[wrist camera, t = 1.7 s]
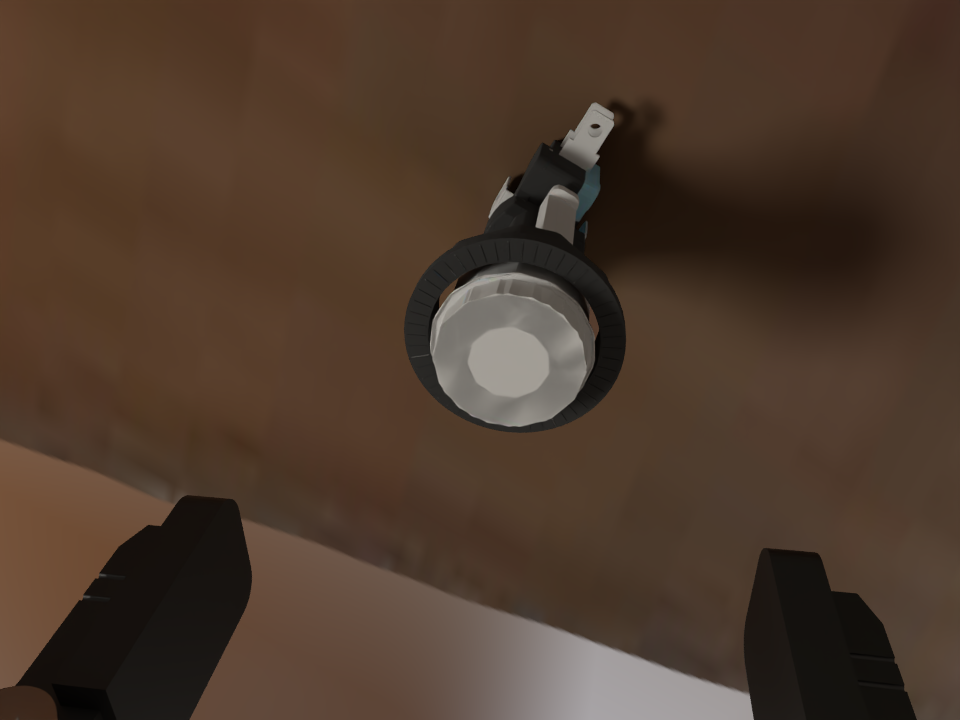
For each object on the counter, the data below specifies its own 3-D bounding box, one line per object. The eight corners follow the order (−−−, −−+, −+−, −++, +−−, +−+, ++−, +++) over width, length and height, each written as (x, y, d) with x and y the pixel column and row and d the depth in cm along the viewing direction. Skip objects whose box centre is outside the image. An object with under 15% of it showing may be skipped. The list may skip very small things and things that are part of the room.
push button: (532, 59, 25) (491, 157, 16) (679, 149, 26) (712, 286, 17) (434, 233, 28) (359, 390, 20) (566, 308, 29) (547, 489, 21)
